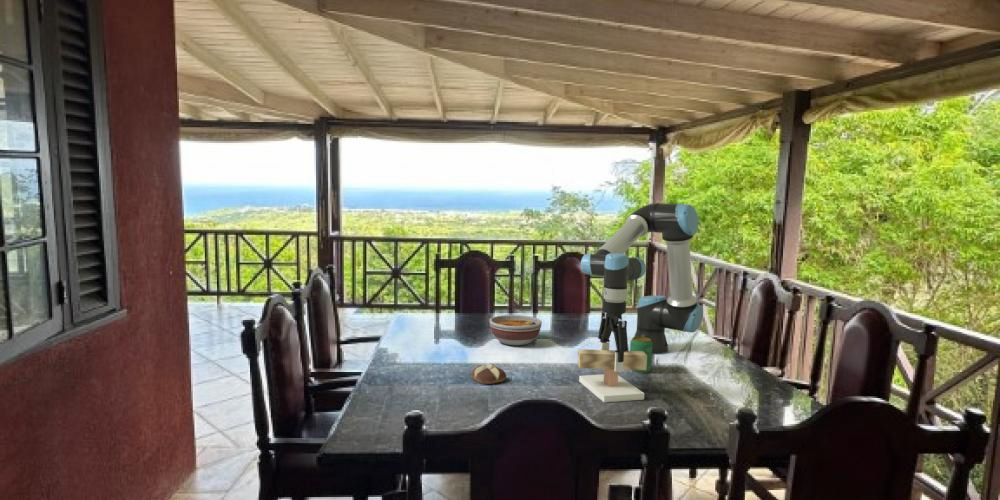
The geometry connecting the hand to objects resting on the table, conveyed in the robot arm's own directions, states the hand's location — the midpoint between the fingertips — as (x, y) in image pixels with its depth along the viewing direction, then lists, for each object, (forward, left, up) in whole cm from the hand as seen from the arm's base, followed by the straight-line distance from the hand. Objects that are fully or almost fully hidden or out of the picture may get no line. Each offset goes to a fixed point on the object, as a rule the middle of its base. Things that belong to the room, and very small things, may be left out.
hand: (611, 366), depth 183 cm
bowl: (+15, -63, -8) cm, 65 cm away
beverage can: (-21, -18, -8) cm, 29 cm away
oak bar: (0, 0, 0) cm, 0 cm away
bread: (+38, -17, -9) cm, 42 cm away
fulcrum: (0, 0, -8) cm, 8 cm away
